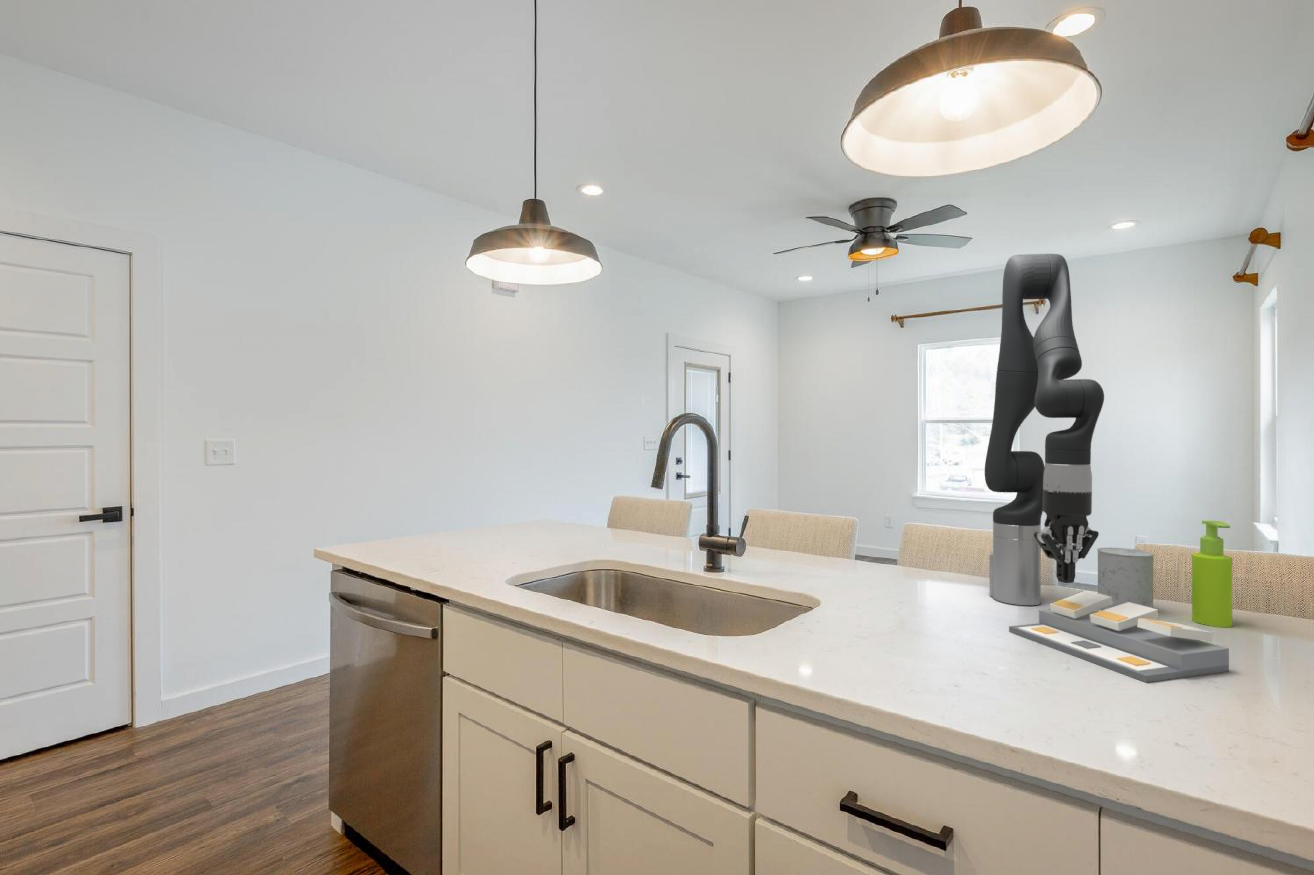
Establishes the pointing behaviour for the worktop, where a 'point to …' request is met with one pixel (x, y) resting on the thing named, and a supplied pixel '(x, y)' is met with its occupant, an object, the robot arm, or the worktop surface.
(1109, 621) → the rocker middle
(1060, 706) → the worktop surface
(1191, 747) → the worktop surface
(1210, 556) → the soap dispenser
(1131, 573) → the grey concrete cylinder
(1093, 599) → the plate
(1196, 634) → the rocker right
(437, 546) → the worktop surface
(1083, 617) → the switch unit
